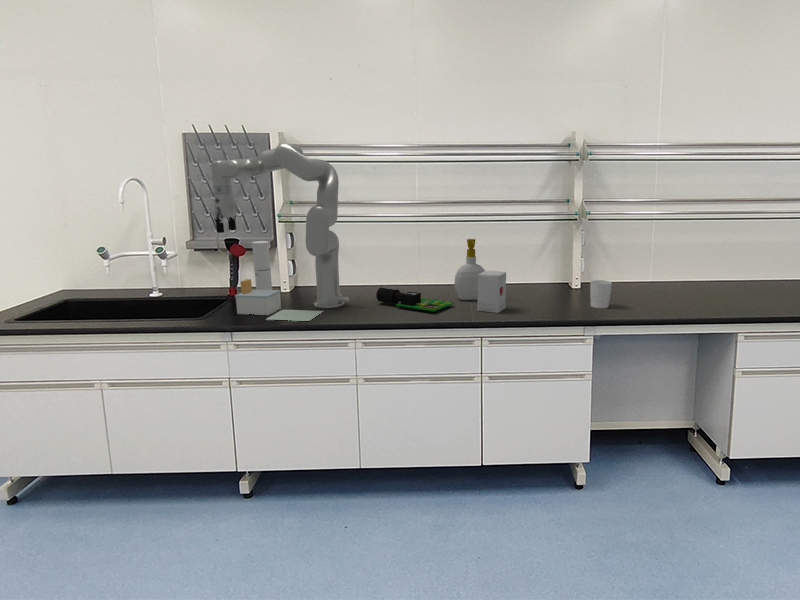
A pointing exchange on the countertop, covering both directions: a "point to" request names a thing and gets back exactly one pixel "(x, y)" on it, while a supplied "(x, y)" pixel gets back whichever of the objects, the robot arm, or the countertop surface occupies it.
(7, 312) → the countertop surface
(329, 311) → the countertop surface
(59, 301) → the countertop surface
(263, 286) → the tall grey box
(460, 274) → the soap bottle
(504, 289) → the supplement box
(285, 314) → the mat
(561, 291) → the countertop surface
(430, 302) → the electronic board model
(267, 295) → the lid
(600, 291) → the white cup
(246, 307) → the tub
